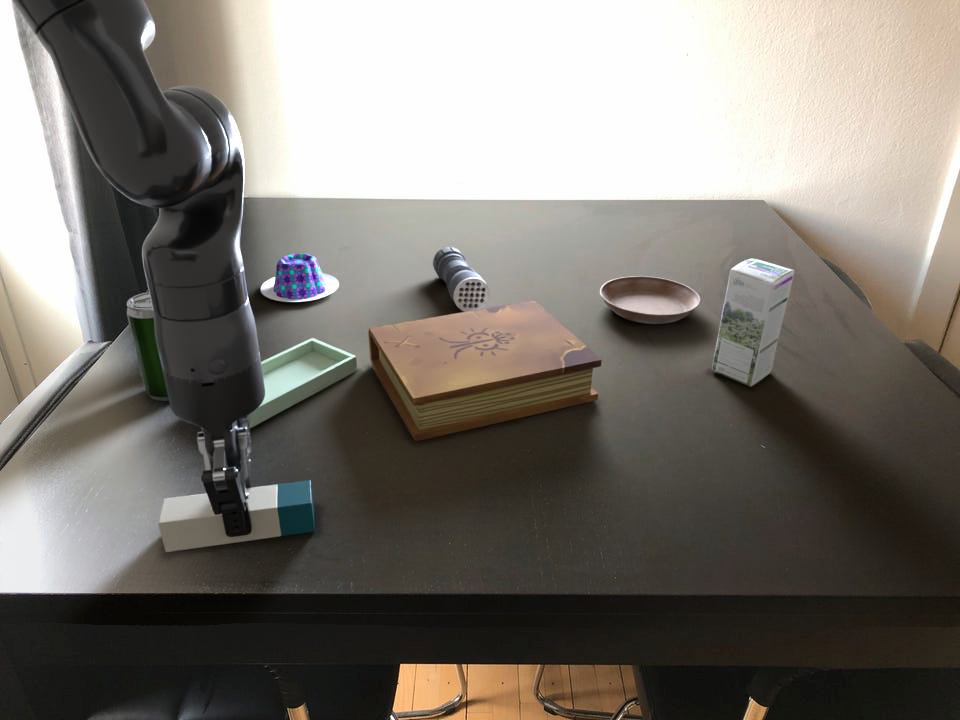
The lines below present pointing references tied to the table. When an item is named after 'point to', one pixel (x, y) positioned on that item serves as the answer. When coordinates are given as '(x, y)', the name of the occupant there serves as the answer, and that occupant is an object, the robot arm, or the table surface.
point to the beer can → (146, 345)
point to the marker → (269, 511)
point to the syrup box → (751, 320)
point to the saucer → (649, 299)
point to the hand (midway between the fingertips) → (240, 518)
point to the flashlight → (461, 280)
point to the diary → (480, 368)
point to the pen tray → (300, 375)
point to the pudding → (299, 280)
